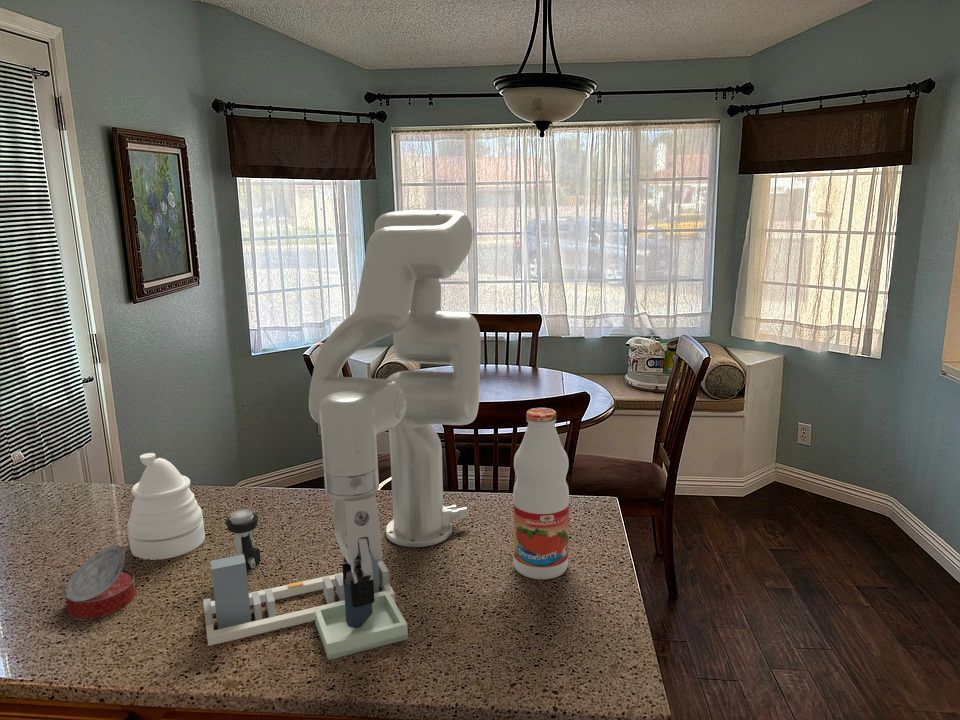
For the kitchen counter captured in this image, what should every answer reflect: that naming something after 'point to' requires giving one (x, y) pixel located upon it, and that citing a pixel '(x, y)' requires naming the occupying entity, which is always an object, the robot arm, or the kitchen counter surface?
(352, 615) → the vaping device
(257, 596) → the rail
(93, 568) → the canned food
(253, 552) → the push button
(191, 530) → the honey pot
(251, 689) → the kitchen counter surface
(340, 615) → the tray
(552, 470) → the fruit juice
